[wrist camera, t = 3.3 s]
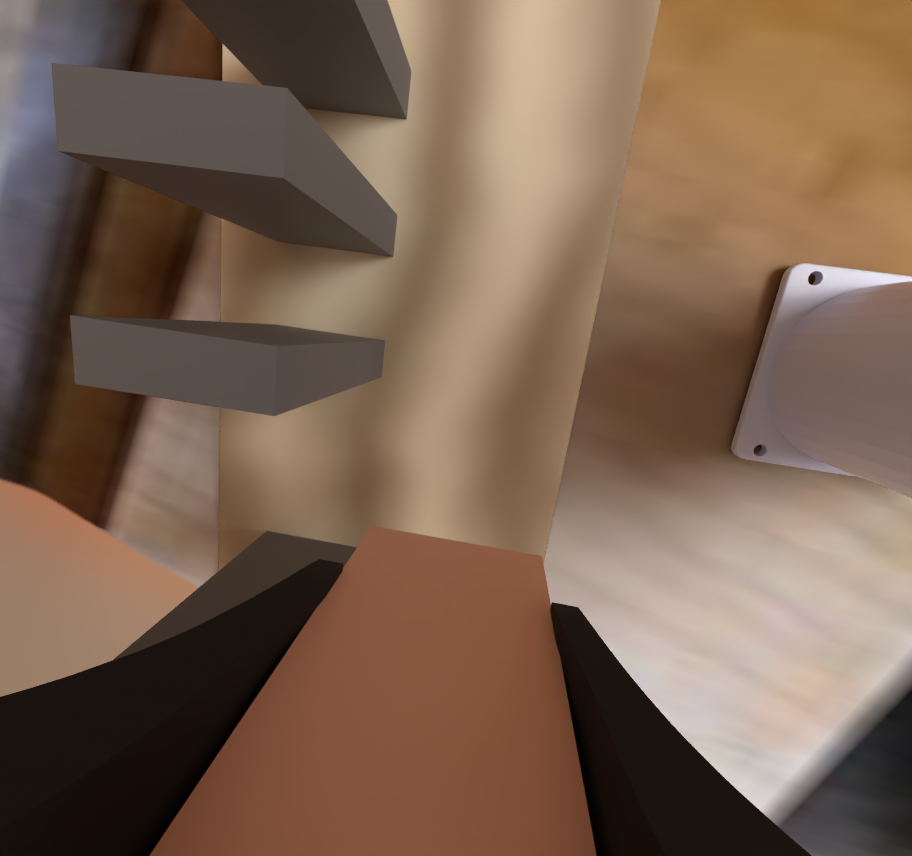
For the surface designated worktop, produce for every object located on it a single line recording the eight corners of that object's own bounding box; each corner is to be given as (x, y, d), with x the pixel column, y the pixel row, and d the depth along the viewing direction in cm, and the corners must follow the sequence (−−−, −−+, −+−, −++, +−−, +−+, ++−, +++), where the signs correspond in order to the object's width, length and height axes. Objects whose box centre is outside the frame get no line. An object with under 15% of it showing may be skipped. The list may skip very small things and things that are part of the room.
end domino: (266, 530, 21) (96, 673, 12) (364, 548, 20) (263, 709, 12) (265, 559, 21) (99, 719, 12) (362, 577, 21) (261, 754, 12)
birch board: (653, 9, 15) (663, -13, 14) (514, 682, 22) (515, 698, 21) (239, -27, 17) (223, -50, 16) (229, 625, 23) (217, 637, 22)
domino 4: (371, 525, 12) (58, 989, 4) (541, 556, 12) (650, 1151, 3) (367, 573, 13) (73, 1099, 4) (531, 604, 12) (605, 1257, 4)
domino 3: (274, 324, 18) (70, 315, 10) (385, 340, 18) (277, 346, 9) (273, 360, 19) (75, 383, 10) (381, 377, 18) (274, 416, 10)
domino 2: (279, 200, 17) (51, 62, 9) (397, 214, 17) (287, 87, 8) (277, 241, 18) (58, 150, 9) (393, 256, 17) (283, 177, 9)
